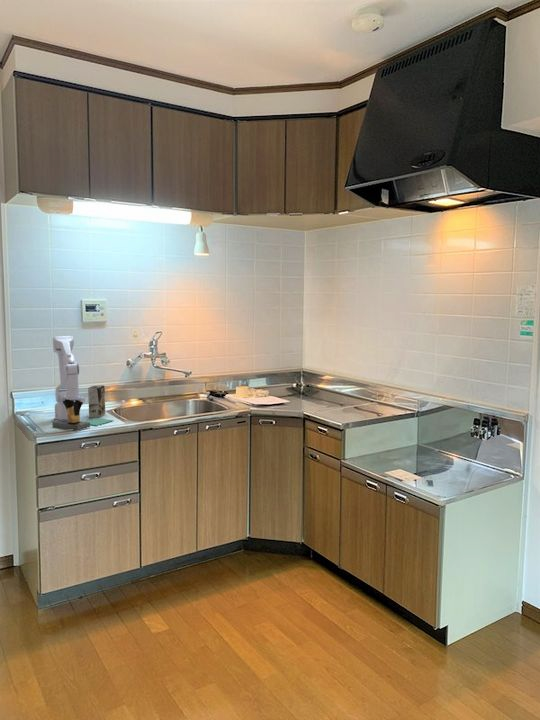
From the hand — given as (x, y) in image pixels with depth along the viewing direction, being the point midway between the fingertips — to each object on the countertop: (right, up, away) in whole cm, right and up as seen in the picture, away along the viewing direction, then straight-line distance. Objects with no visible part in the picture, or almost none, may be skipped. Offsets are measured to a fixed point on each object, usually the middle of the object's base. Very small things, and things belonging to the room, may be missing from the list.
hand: (73, 414), depth 272 cm
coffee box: (+3, -3, +27) cm, 27 cm away
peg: (0, -3, 0) cm, 3 cm away
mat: (+8, -5, +11) cm, 15 cm away
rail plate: (-2, -6, +2) cm, 7 cm away
